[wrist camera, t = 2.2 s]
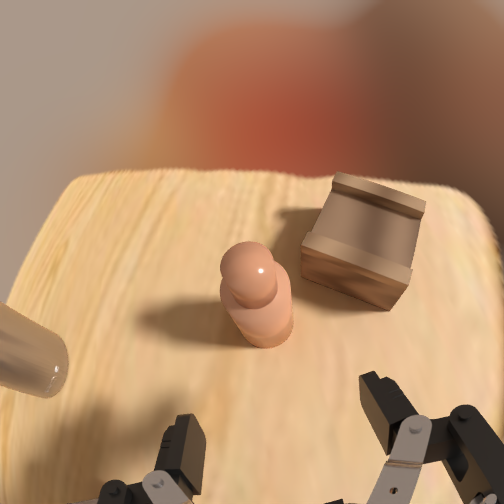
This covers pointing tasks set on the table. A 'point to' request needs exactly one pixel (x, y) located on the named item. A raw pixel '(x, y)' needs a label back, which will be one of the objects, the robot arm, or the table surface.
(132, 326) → the table surface
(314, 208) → the table surface
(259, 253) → the peg doll
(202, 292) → the table surface
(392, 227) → the pedestal
